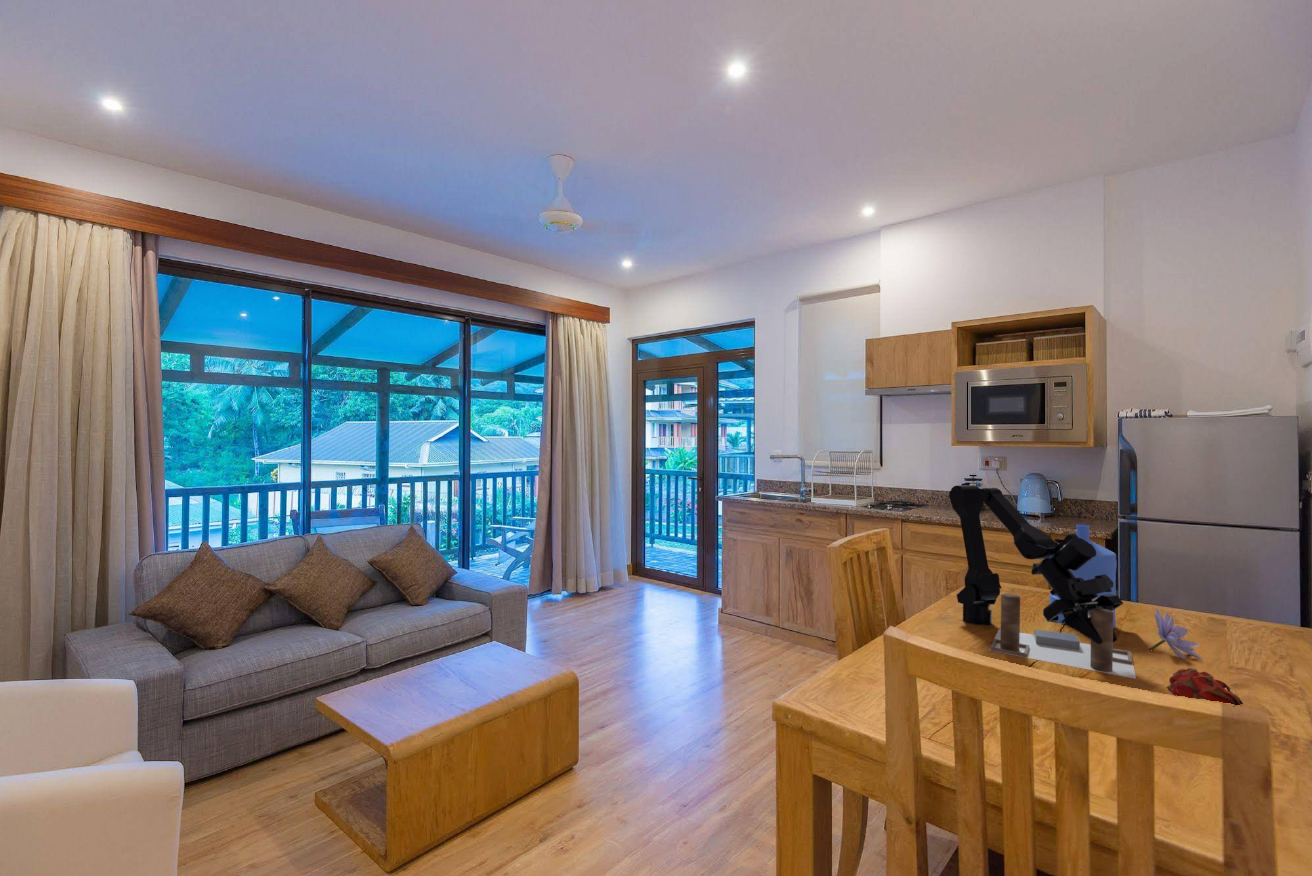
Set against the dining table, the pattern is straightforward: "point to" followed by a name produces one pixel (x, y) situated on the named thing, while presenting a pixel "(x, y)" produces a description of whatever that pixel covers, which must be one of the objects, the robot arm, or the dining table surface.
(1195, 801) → the dining table surface
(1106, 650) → the pin
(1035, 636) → the cover
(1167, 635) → the water lily
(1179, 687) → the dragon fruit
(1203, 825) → the dining table surface
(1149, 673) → the dining table surface
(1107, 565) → the water jug
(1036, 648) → the board
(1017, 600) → the pin
